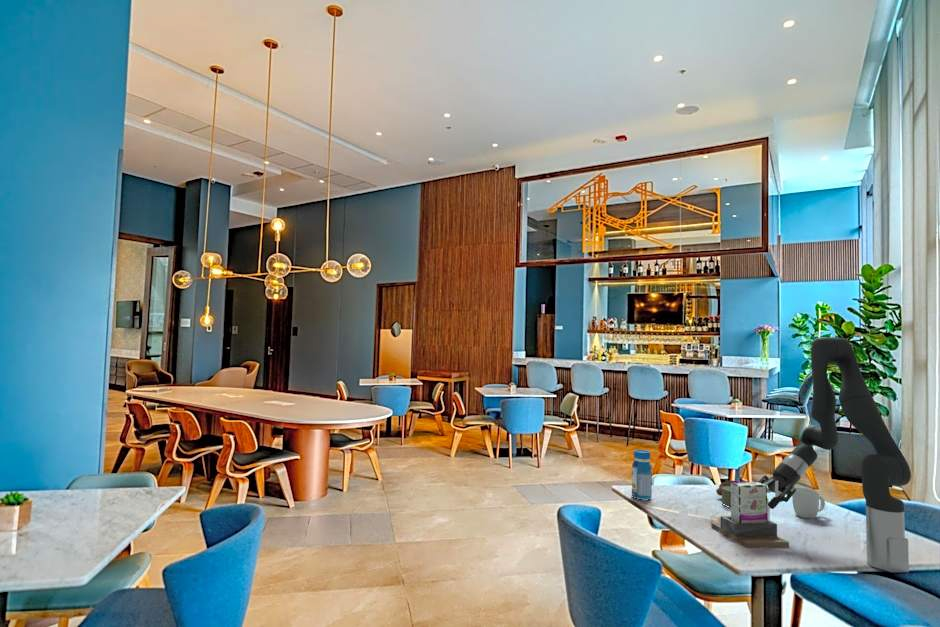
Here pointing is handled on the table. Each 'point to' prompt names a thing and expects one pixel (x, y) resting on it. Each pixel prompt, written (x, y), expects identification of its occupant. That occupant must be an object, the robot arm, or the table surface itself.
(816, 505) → the mug
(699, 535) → the table surface
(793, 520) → the table surface
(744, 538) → the display stand
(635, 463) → the beverage bottle
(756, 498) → the candy bar box
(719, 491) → the decorative turtle
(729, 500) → the dark grey bowl
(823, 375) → the robot arm
